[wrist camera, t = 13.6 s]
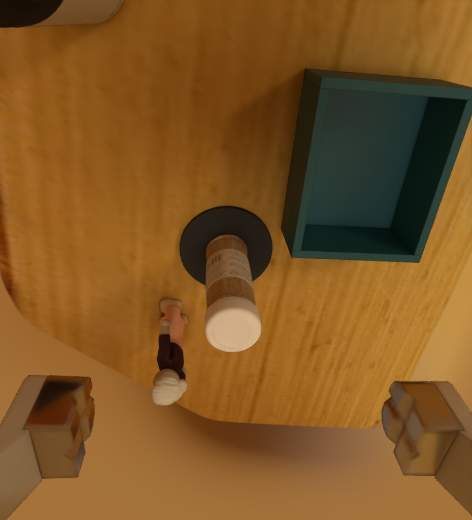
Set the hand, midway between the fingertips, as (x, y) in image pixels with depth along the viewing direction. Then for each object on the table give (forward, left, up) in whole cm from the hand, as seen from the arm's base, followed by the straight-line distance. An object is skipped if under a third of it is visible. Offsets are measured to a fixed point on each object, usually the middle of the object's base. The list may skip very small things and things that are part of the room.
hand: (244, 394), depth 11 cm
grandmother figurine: (+22, -4, -31) cm, 38 cm away
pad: (+12, +1, -31) cm, 34 cm away
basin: (+2, +13, -31) cm, 34 cm away
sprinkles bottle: (+12, +1, -31) cm, 33 cm away
